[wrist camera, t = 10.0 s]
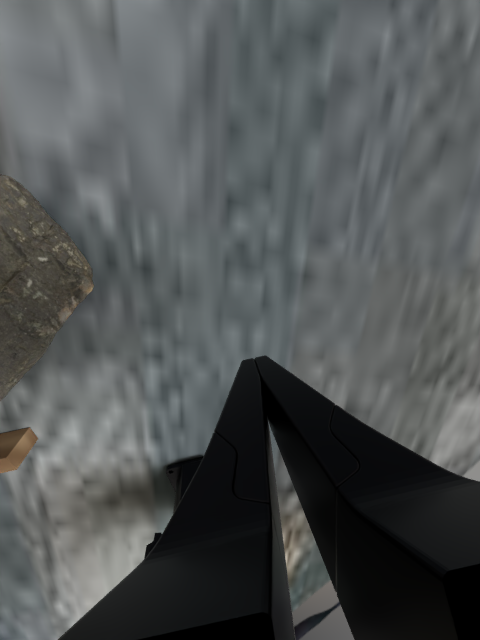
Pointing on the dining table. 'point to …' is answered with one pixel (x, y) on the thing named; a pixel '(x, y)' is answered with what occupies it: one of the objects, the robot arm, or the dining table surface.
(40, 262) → the rock
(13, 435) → the wooden u-shaped handle
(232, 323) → the dining table surface
